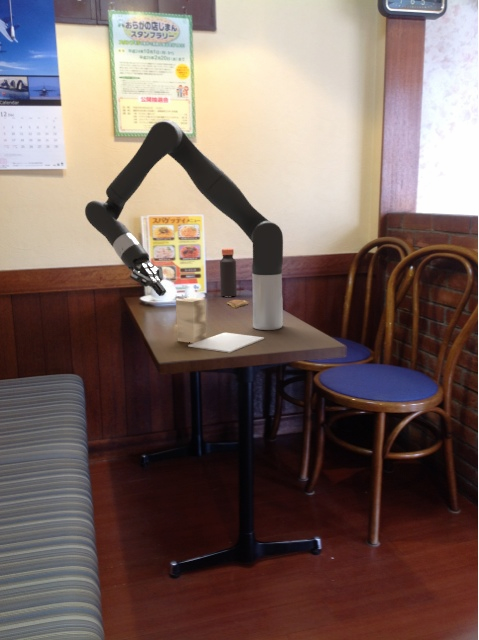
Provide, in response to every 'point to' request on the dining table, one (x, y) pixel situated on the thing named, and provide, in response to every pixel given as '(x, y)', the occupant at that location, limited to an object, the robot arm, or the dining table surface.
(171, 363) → the dining table surface
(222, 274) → the bottle
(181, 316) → the wooden block
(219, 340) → the mat
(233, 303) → the shard
